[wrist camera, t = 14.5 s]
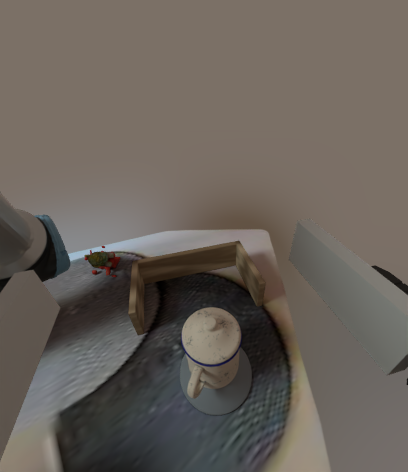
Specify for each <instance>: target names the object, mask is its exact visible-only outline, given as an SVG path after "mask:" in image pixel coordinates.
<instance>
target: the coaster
mask: <svg viewBox="0 0 408 472" xmlns="http://www.w3.org/2000/svg"><path fill="white" fill-rule="evenodd" d="M190 377H191V373H190V370H189V365H188V361H187V357H186V353H185V355H184V357H183V360H182V363H181V367H180V382H181V386H182V390H183V392H184V394H185V396H186V398H187V400H188V401H189V402H190V403H191V405H193V406H194V407H195V408H196V409H197V410H199V411H201V412H203V413H205V414H208V415H214V416H218V415H225V414H228V413H230V412H232V411H234V410H236V409H237V408H238V407H239V406H240V405H241V404H242V403H243V402H244V400H245V399H246V397H247V395H248V393H249V390H250V387H251V382H252V370H251V365H250V362H249V359H248V357H247V355H246V353H245V352H244V350H243V349H242V348H241V347H240V350H239V366H238V371H237V373H236V376H235V377H234V379H233V380H232V381H231V382H230V383H229V384H228V385H226V386H224V387H222V388H219V389H209V388H205V387H203V389H202V391H201V393H200V395H199V396H198V397H197V398H195V399H193V398H191V397H190V396H189V395H188V393H187V388H188V383H189V380H190Z"/></svg>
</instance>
